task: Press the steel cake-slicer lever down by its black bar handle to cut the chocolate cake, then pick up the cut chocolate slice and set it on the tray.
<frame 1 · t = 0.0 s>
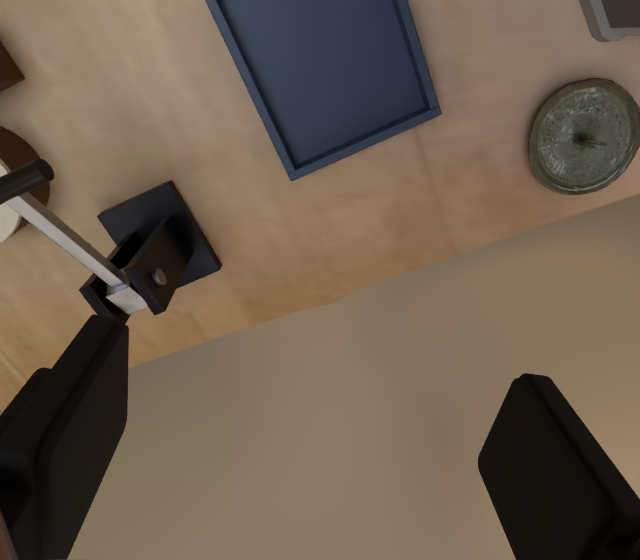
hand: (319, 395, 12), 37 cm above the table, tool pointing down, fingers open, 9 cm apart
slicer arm: (79, 248, 35), point 13 cm above the table, hinge at 25.0°
slicer: (163, 239, 49), on the table
tray: (326, 54, 42), on the table
lid: (574, 135, 46), on the table
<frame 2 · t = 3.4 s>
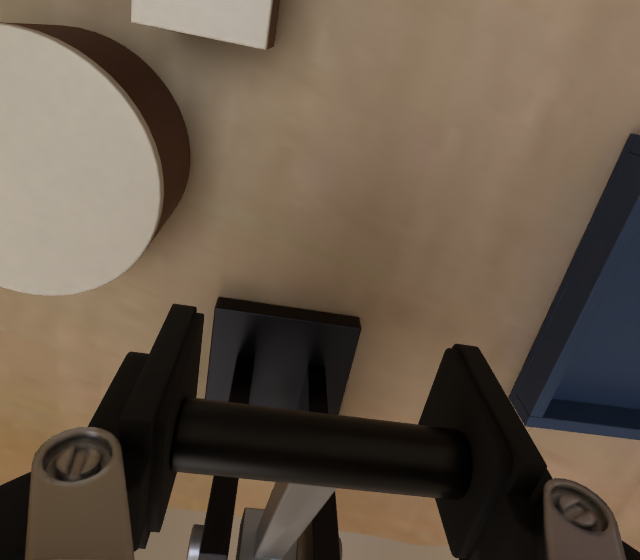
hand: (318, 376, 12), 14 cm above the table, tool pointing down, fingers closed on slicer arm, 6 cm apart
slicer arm: (283, 518, 15), point 13 cm above the table, hinge at 25.0°, touching gripper
cake: (82, 145, 23), on the table
slicer: (276, 377, 29), on the table
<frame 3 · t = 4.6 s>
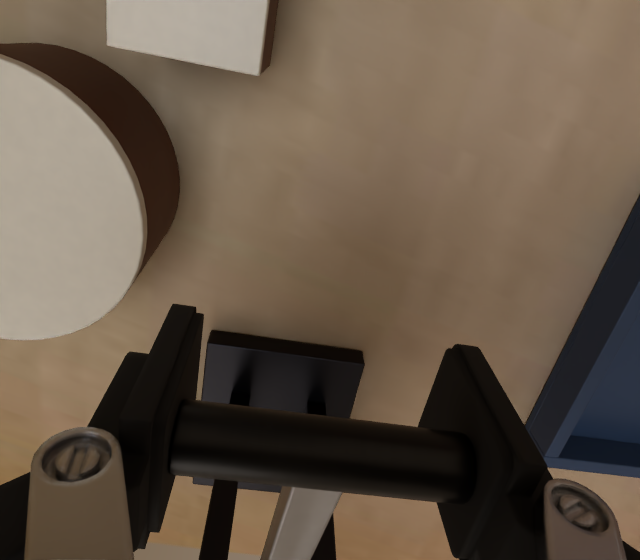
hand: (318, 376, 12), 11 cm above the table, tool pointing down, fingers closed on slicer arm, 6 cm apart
cake: (62, 171, 21), on the table
slicer: (274, 412, 27), on the table
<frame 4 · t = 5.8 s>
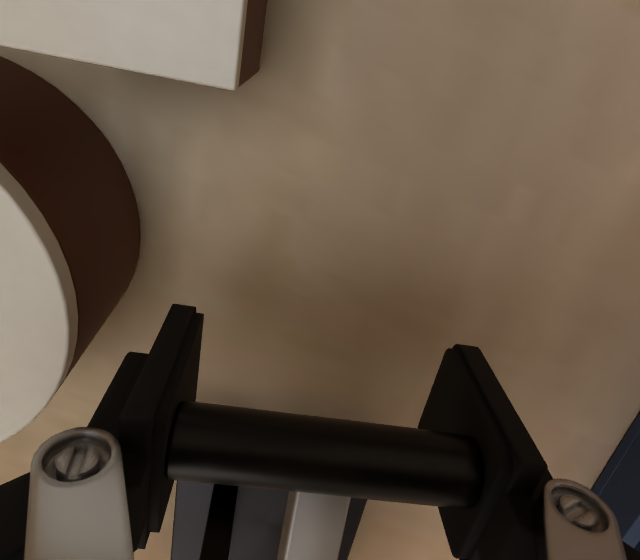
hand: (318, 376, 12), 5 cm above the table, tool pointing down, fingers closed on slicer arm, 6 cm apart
slicer: (268, 500, 22), on the table
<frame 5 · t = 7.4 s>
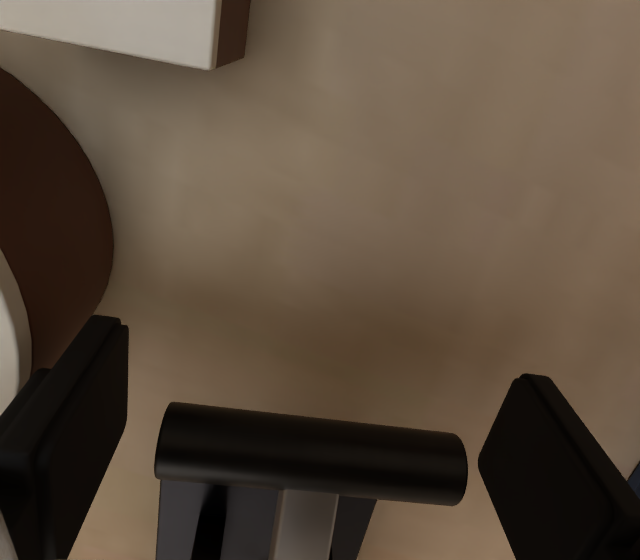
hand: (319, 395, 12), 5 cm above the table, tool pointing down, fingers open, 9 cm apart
slicer: (260, 528, 20), on the table
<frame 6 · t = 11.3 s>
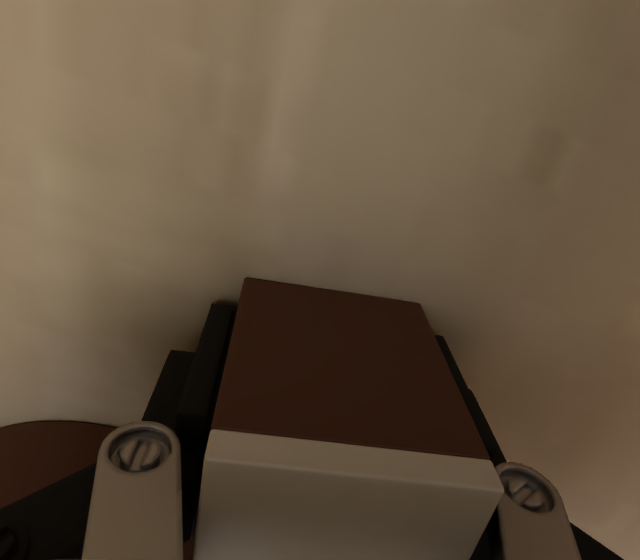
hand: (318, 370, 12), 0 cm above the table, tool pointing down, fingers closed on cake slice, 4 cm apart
cake slice: (317, 362, 13), on the table, touching gripper
cake: (88, 539, 16), on the table
when the fingers open (1 cm above the table, at t = 18.5 s): cake slice stays where it is, resting on tray.
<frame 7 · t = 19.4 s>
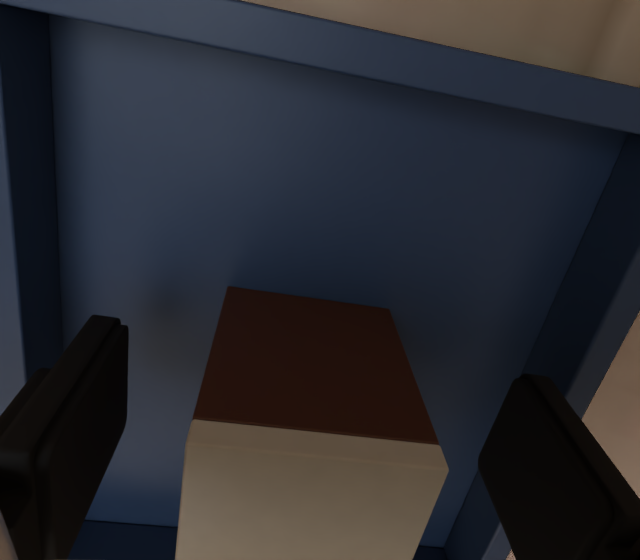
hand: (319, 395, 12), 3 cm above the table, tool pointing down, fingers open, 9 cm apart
cake slice: (296, 364, 14), resting on tray
tray: (302, 346, 14), on the table
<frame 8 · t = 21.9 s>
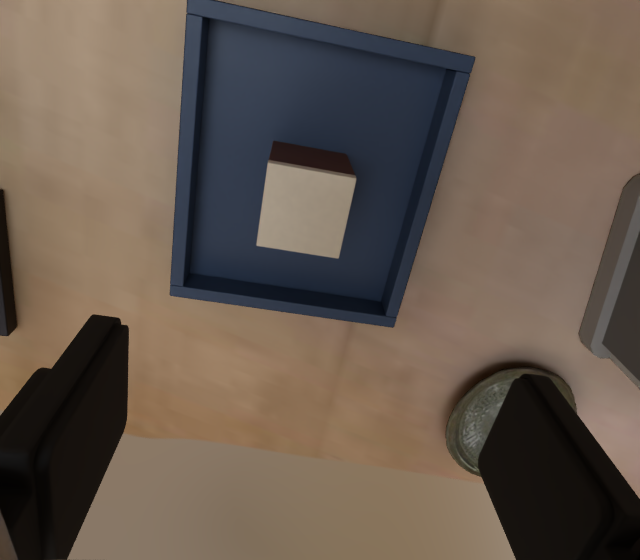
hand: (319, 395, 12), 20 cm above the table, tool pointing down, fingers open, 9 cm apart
cake slice: (303, 183, 29), resting on tray
tray: (306, 177, 30), on the table
lid: (503, 409, 39), on the table
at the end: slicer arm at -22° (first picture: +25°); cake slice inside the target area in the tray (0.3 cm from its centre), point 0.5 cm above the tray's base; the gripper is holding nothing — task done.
